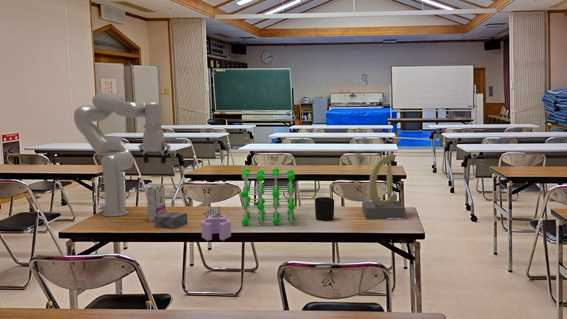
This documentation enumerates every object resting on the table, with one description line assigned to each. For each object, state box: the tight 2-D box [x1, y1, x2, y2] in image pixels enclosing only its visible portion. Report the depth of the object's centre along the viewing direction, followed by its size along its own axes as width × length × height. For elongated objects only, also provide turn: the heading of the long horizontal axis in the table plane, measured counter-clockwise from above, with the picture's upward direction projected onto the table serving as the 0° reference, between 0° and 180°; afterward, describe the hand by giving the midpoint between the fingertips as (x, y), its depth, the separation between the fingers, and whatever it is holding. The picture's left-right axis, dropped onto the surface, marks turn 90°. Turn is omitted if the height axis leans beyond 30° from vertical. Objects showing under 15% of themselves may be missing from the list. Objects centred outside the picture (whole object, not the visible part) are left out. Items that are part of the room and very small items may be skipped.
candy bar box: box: [146, 184, 167, 222], centre depth 300 cm, size 11×5×16 cm, turn 168°
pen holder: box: [314, 196, 335, 222], centre depth 295 cm, size 9×9×10 cm
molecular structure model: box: [240, 167, 296, 227], centre depth 293 cm, size 24×25×24 cm
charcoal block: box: [154, 211, 188, 230], centre depth 287 cm, size 11×11×5 cm
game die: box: [202, 205, 222, 219], centre depth 290 cm, size 9×8×10 cm
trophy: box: [361, 153, 406, 220], centre depth 301 cm, size 19×19×30 cm
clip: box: [201, 214, 232, 242], centre depth 267 cm, size 20×12×7 cm, turn 3°
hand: (154, 162), depth 298 cm, fingers open, 9 cm apart
